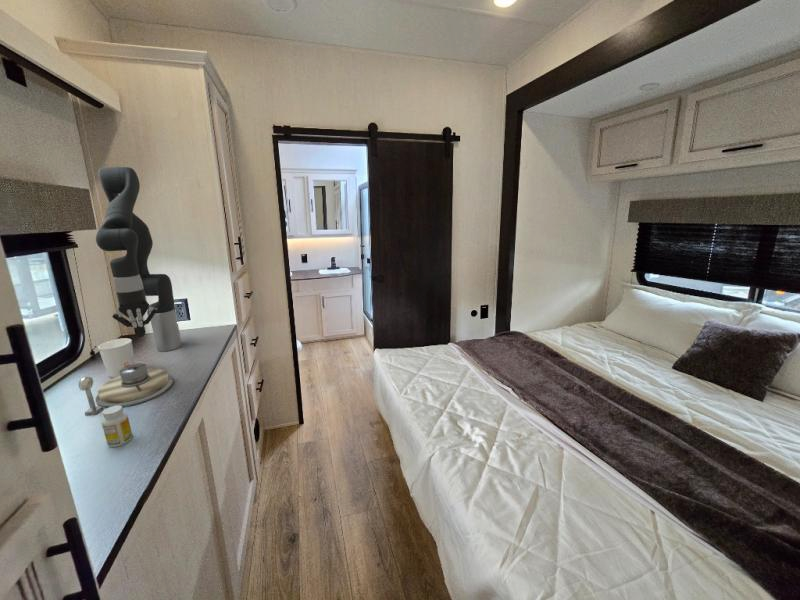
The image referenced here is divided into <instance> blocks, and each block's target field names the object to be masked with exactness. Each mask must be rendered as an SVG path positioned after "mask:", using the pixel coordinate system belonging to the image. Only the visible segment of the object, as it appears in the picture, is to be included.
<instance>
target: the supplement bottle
mask: <svg viewBox="0 0 800 600" xmlns="http://www.w3.org/2000/svg"><path fill="white" fill-rule="evenodd" d="M123 408H124V407H122V406H119V405H117V406H112V407H109V408H104V409H103V410H102V416H103V419H102V420H101V426H102V427H101V428H102V430H103V434H104V436H105V440H106V441H105V442H106V445H107V446H108V447H110V448H111V447H112V448H116V447H119V446H123V445H125V444H127V443H129V442H130V441H131V440H132V438H133V431H132V427H131V425H130V421H129V420H130V419H129V416H128V414H127V412H124V409H123Z"/></svg>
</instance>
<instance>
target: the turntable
mask: <svg viewBox="0 0 800 600" xmlns="http://www.w3.org/2000/svg"><path fill="white" fill-rule="evenodd" d="M129 365H130V363H129V362H128V361H125V362H124V366H125V367H126V366H129ZM147 372H148V375H149V376H150V380H149V381H148V382H146V383H144V384H142V385H139V386H135V387H129V388H125V387H122V385H121V382H122V380H121V376H119V377H116V378H113V379H110V380H109V381H107V382H105V383H103V384H102V385H101V386H100V387H99V388H98V390H97V395H99V398H100V400H101V401H103V402H107V403H120V402H127V401H132V400H136V399H139V398H142V397H145V396H148V395H150V394H152V393H154V392H156V391H158V390H160V389H162V388H163V387H164V386H165V385H166V384H167V383H168V381H169V377H168V375H169V374H168V371H167V370H164V369H160V368H150V369H149V368H147Z"/></svg>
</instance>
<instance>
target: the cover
mask: <svg viewBox="0 0 800 600" xmlns="http://www.w3.org/2000/svg"><path fill="white" fill-rule="evenodd" d="M147 369H148V367H147V364H146V363H135V364H133V365H129V366H126V367H124V368H122V369H121V370H120V371H119V373H120V376H121V380H122V382H121V385H122V387H125V388H129V387H135V386H139V385H142V384H144V383H146V382H148V381H149V380H150V376H149V375H148V372H147Z"/></svg>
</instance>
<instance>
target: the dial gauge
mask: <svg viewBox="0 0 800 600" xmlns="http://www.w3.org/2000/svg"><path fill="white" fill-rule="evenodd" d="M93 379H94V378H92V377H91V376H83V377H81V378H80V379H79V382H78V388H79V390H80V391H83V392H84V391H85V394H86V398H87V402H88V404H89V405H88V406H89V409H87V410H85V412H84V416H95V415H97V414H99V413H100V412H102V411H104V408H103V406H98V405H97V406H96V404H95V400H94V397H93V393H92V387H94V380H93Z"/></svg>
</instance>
